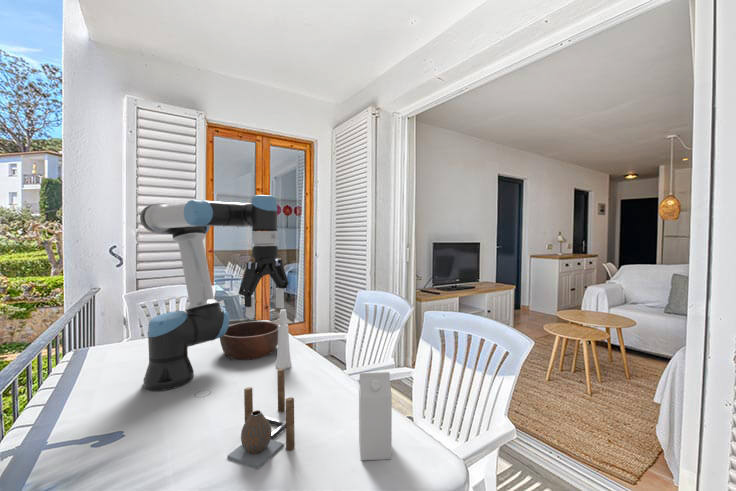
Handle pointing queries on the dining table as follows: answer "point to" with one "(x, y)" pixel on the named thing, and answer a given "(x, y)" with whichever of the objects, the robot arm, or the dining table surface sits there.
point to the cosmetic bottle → (283, 342)
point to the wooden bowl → (250, 340)
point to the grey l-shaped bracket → (278, 423)
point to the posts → (281, 407)
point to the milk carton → (375, 416)
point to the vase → (256, 433)
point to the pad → (255, 459)
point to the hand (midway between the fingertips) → (266, 312)
